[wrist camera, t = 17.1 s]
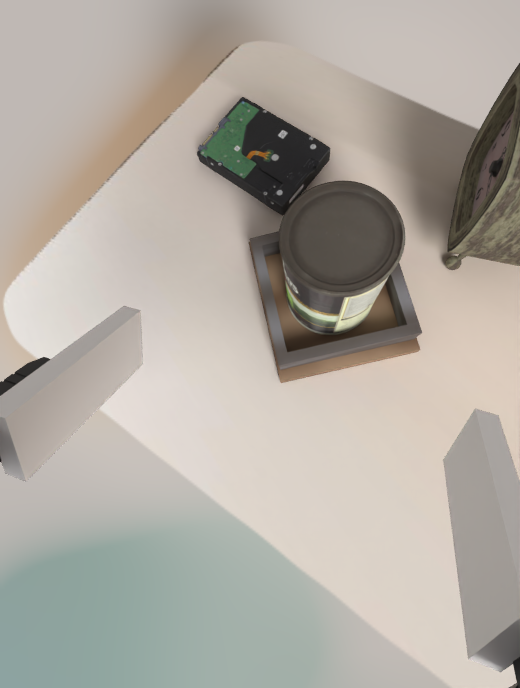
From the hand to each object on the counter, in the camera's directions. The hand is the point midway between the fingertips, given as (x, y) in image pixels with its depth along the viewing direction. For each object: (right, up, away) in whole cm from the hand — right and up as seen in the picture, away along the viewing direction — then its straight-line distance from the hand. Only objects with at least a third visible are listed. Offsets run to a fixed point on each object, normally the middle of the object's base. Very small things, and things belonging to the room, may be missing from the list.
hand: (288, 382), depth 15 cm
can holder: (+7, +7, +31) cm, 33 cm away
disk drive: (-1, +26, +37) cm, 46 cm away
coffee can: (+7, +7, +30) cm, 32 cm away
